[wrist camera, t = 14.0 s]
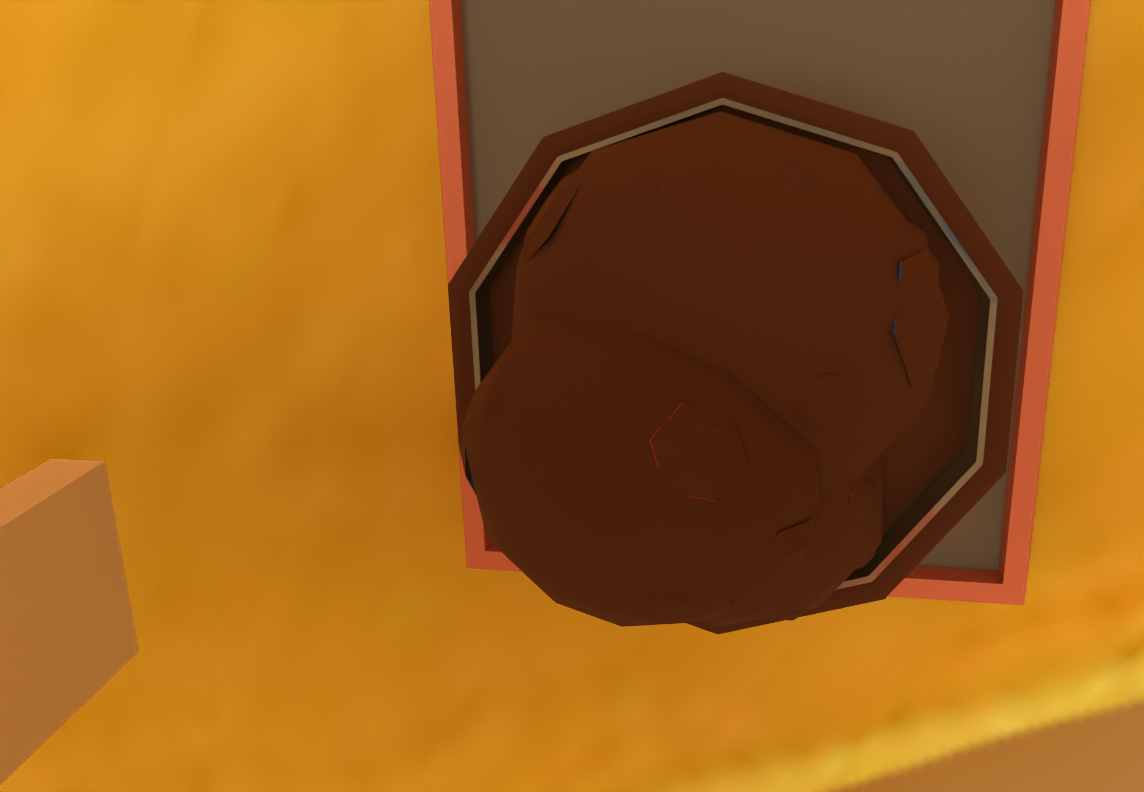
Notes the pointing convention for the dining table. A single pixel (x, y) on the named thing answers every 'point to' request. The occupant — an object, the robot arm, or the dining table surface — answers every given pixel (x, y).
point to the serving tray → (829, 75)
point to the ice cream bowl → (730, 360)
